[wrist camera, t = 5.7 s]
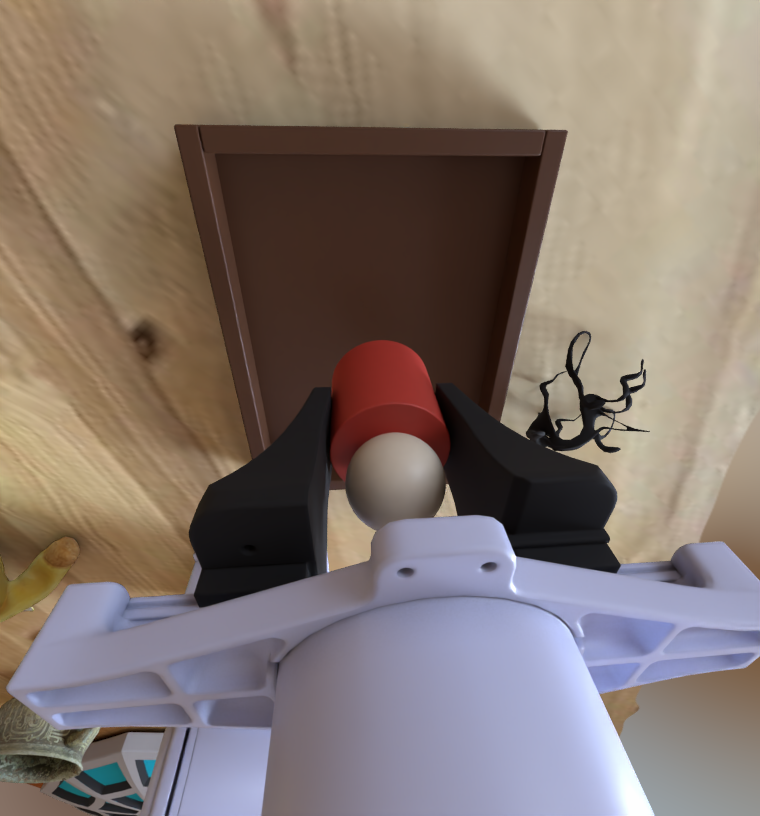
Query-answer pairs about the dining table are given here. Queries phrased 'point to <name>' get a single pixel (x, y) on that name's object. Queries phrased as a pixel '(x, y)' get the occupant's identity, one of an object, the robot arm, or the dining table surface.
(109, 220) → the dining table surface
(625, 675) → the robot arm
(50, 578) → the giraffe plush
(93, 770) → the decorative platform
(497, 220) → the tray
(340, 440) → the peg doll
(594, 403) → the creature
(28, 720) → the vessel
